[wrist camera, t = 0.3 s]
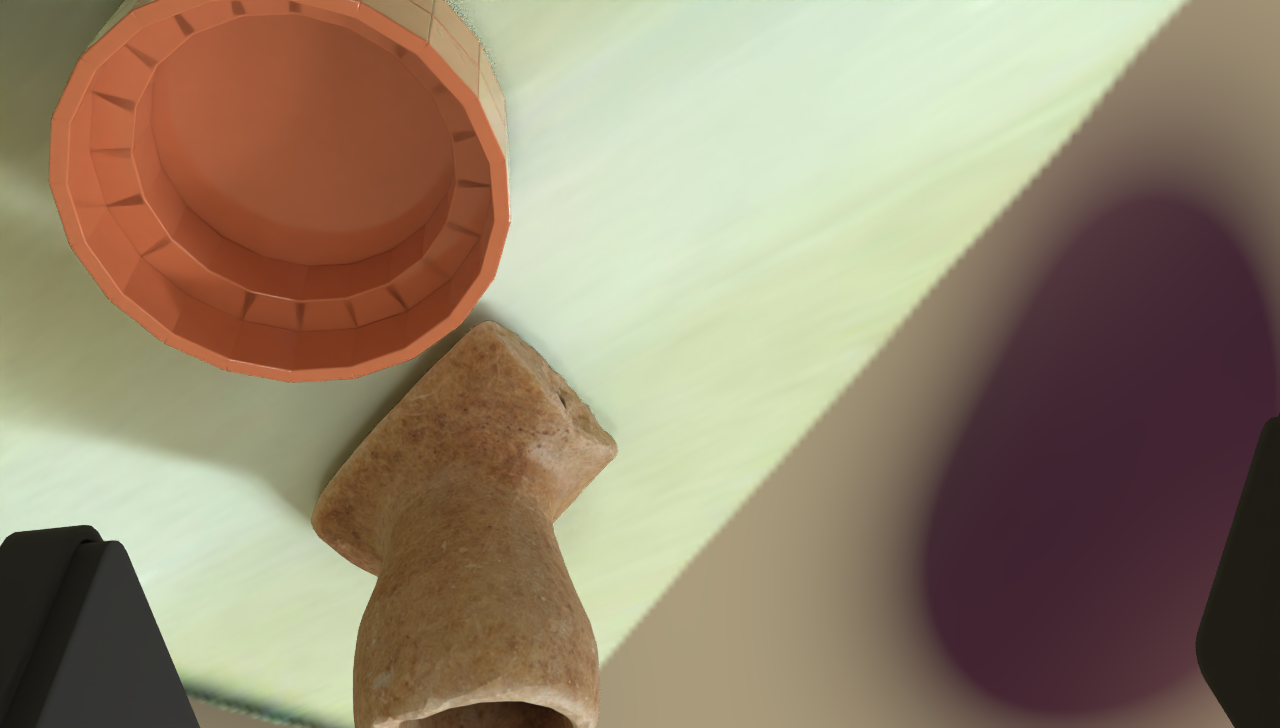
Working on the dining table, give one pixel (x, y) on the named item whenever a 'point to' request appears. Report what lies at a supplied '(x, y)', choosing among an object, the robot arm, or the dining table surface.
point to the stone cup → (471, 545)
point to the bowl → (286, 178)
